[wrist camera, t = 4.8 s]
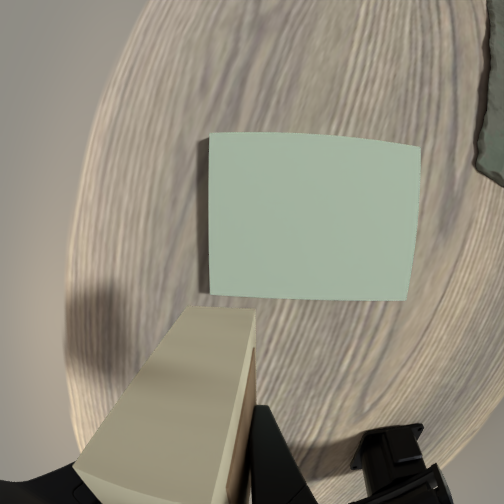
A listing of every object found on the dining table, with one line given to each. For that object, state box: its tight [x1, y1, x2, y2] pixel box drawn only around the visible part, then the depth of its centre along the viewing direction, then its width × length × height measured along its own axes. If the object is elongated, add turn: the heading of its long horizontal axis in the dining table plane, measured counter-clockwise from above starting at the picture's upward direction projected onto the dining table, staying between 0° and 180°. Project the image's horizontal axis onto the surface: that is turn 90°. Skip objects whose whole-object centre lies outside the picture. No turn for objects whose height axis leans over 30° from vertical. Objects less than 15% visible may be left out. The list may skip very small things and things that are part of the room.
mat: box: [208, 132, 420, 301], centre depth 17 cm, size 10×13×1 cm
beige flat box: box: [72, 306, 256, 504], centre depth 6 cm, size 6×2×6 cm, turn 1°
